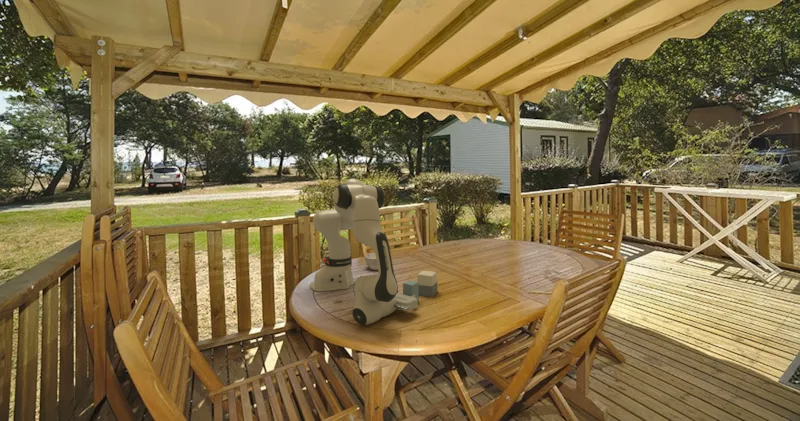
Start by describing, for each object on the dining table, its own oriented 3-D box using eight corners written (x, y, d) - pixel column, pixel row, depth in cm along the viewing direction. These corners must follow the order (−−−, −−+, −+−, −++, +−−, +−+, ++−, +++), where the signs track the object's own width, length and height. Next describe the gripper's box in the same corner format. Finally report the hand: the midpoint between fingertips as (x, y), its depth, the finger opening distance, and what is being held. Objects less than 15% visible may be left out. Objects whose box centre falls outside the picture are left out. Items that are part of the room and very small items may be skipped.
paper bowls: (361, 266, 220) (361, 253, 219) (385, 263, 226) (385, 251, 225) (370, 273, 206) (370, 259, 205) (395, 269, 213) (395, 256, 212)
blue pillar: (412, 305, 159) (412, 285, 158) (403, 302, 162) (402, 283, 161) (418, 301, 163) (418, 282, 162) (409, 299, 166) (409, 280, 165)
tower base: (432, 297, 169) (432, 286, 168) (416, 295, 172) (416, 285, 171) (437, 291, 176) (437, 281, 176) (421, 289, 179) (421, 279, 178)
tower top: (432, 286, 169) (432, 276, 168) (417, 284, 171) (417, 274, 171) (436, 282, 175) (436, 271, 174) (422, 280, 178) (422, 270, 177)
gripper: (406, 302, 142) (425, 291, 153) (366, 291, 154) (387, 282, 165) (406, 317, 142) (425, 306, 153) (367, 305, 155) (387, 295, 166)
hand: (405, 293), depth 159 cm, fingers open, 8 cm apart
